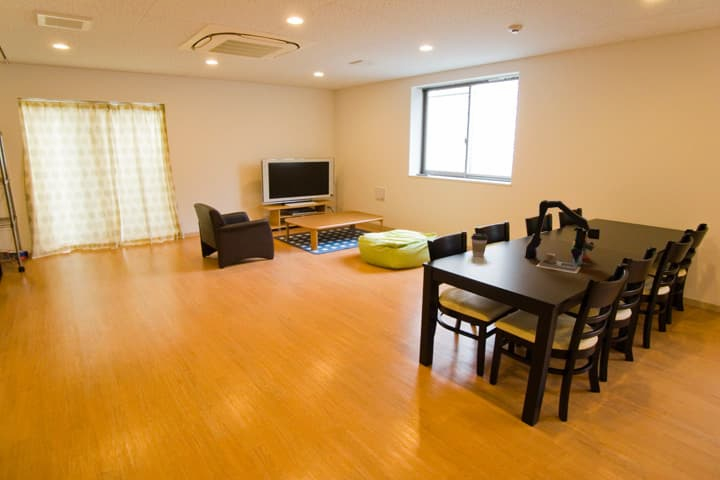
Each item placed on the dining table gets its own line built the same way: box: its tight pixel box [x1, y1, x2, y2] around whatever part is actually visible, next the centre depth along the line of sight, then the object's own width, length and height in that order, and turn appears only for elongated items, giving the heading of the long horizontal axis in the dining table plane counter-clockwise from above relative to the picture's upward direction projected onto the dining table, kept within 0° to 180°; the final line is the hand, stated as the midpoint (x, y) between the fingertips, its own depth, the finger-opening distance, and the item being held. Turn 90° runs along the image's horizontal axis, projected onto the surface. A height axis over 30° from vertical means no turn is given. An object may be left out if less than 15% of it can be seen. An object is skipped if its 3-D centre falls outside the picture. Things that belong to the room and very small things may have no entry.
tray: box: [536, 258, 581, 274], centre depth 256 cm, size 23×14×2 cm, turn 53°
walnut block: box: [544, 252, 557, 265], centre depth 259 cm, size 5×5×7 cm
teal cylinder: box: [572, 253, 583, 266], centre depth 263 cm, size 5×5×7 cm
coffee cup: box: [470, 232, 489, 258], centre depth 279 cm, size 11×11×15 cm
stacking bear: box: [570, 233, 590, 260], centre depth 277 cm, size 11×10×18 cm
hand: (577, 261), depth 264 cm, fingers open, 8 cm apart
